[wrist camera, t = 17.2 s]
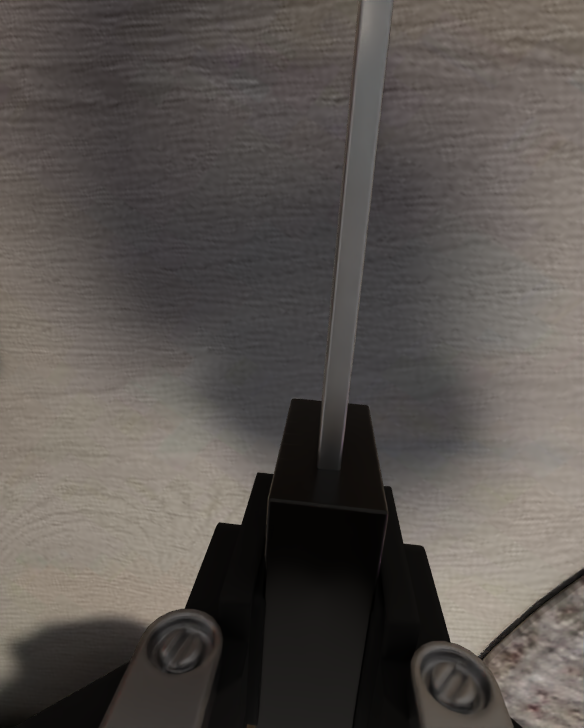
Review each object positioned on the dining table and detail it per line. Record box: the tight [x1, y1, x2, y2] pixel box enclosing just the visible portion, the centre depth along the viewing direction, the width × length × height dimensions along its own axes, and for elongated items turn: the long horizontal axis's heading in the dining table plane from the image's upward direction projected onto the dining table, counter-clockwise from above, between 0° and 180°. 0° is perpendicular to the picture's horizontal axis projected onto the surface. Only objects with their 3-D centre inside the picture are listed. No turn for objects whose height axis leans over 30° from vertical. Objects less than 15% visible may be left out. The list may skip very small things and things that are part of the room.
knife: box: [255, 0, 394, 728], centre depth 8 cm, size 16×2×4 cm, turn 176°
